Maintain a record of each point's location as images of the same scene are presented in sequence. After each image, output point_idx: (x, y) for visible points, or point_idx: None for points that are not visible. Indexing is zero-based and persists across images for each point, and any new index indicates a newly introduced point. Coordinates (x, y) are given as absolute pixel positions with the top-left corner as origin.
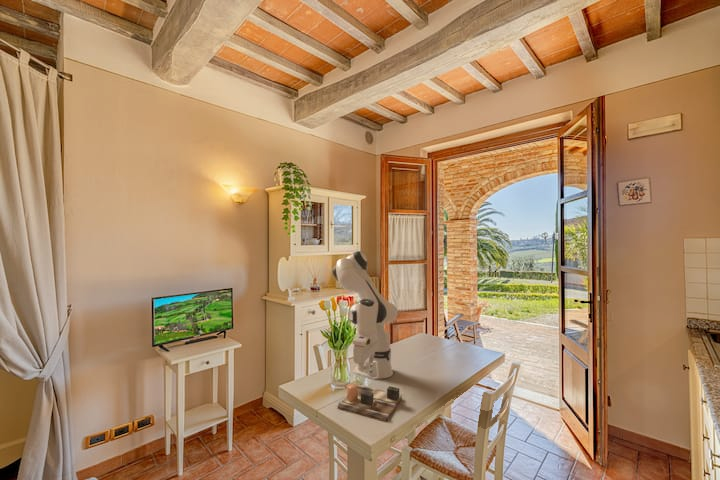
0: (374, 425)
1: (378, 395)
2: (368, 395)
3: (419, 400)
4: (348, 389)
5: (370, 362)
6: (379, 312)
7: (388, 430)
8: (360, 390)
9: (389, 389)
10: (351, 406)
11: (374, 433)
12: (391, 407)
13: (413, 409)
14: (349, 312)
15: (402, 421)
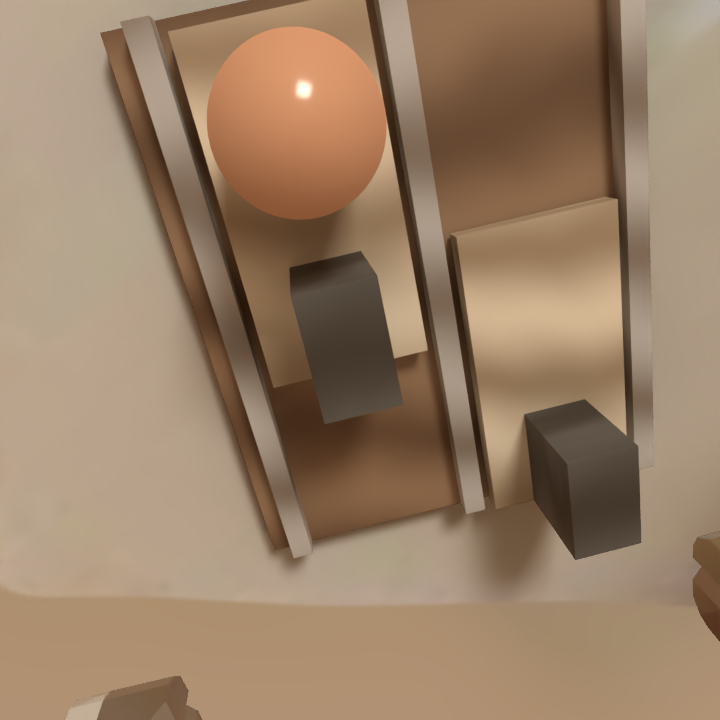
0: (172, 497)
1: (531, 318)
2: (318, 397)
3: (675, 545)
4: (207, 117)
5: (701, 568)
6: None
7: (199, 594)
8: (562, 32)
9: (570, 487)
10: (183, 213)
11: (95, 551)
12: (443, 485)
13: (537, 575)
14: None
15: (356, 600)
